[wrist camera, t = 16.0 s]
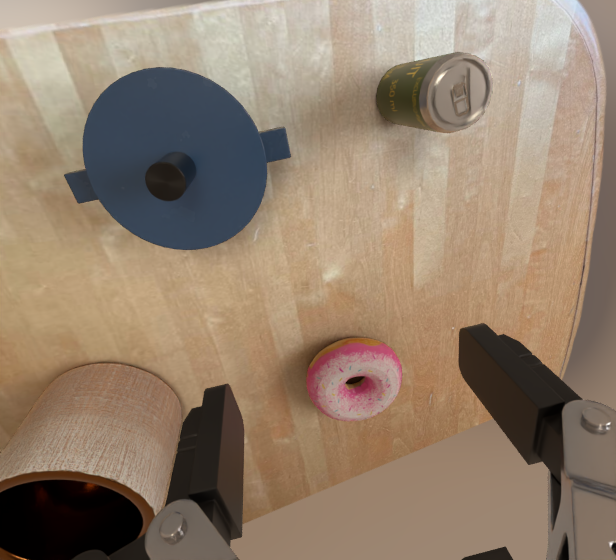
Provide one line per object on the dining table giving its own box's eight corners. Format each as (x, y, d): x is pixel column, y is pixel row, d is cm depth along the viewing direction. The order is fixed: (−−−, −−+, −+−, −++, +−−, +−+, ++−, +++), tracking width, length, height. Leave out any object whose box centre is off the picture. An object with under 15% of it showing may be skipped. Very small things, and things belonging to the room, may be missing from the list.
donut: (398, 390, 55) (410, 415, 51) (314, 411, 55) (320, 439, 51) (390, 320, 49) (404, 342, 45) (296, 343, 49) (300, 368, 44)
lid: (52, 89, 26) (-1, 87, 20) (241, 50, 26) (239, 38, 21) (132, 260, 32) (108, 293, 27) (282, 226, 33) (288, 252, 27)
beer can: (430, 110, 37) (500, 116, 27) (382, 132, 38) (433, 146, 27) (418, 54, 35) (491, 36, 24) (367, 77, 35) (417, 70, 25)
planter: (18, 370, 45) (-86, 493, 31) (163, 347, 46) (125, 454, 32) (75, 461, 53) (13, 591, 39) (196, 439, 54) (178, 557, 40)
